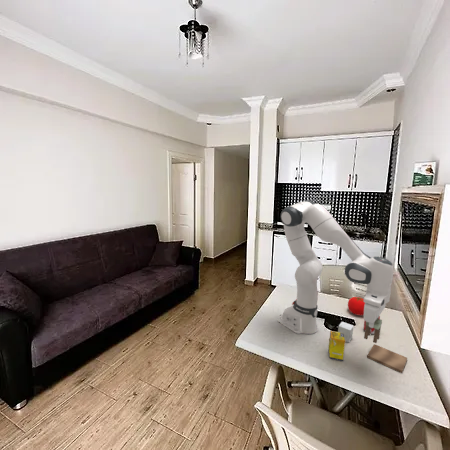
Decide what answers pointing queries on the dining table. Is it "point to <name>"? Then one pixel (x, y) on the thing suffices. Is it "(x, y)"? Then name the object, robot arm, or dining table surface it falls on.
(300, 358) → the dining table surface
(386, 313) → the dining table surface
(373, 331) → the soda can
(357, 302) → the tomato
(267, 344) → the dining table surface
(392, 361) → the walnut board
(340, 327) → the product box
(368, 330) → the stool
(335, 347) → the supplement box
